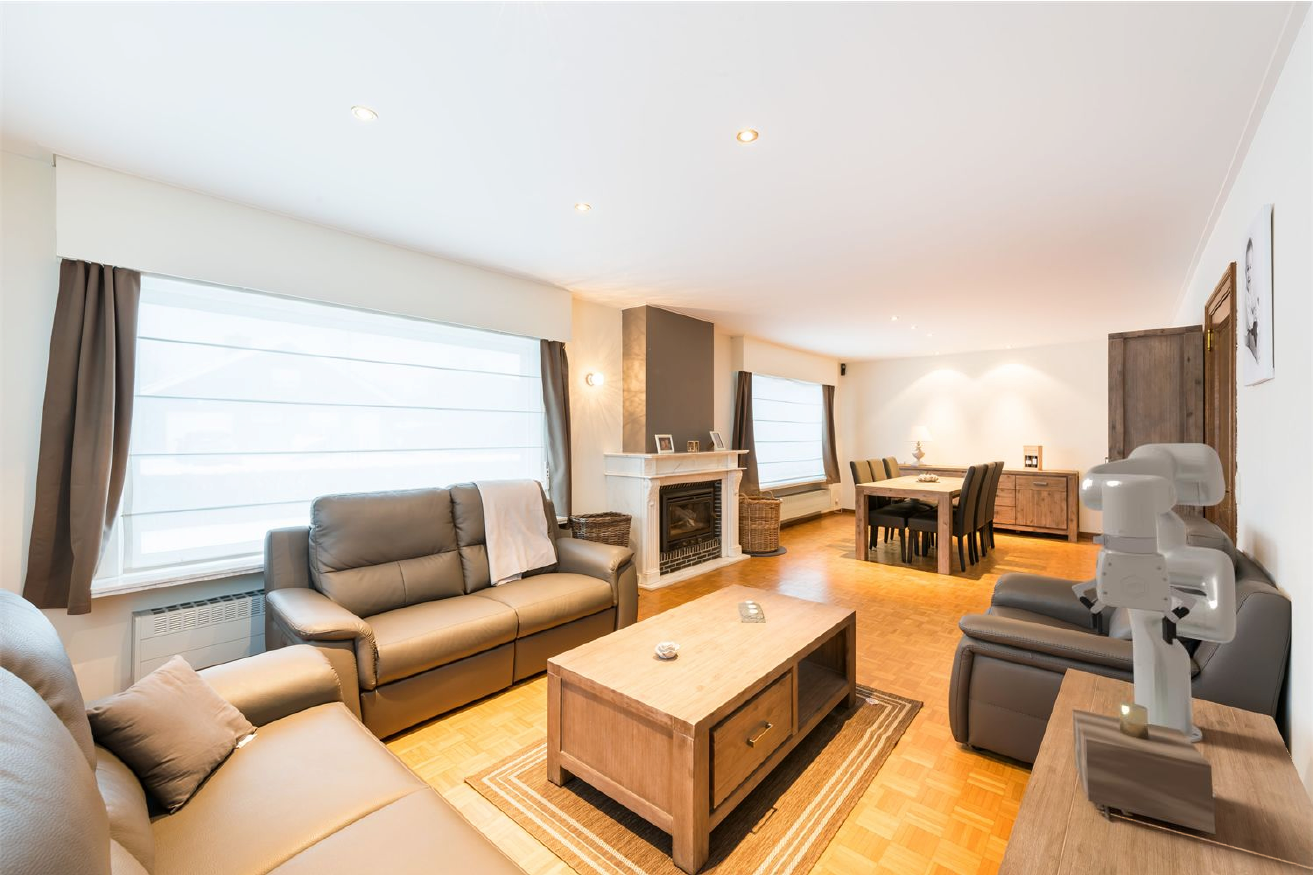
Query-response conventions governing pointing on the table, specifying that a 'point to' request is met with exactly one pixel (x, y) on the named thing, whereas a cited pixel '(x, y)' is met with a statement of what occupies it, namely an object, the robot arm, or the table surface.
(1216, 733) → the table surface
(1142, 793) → the walnut cover
